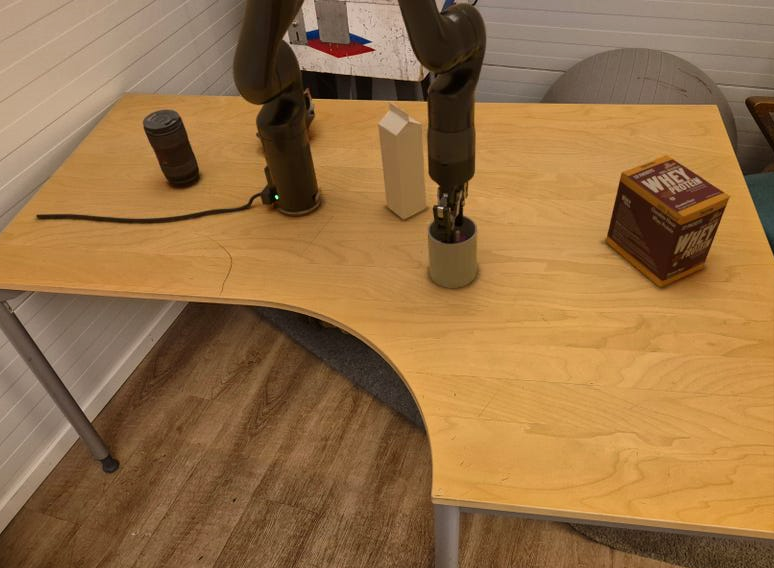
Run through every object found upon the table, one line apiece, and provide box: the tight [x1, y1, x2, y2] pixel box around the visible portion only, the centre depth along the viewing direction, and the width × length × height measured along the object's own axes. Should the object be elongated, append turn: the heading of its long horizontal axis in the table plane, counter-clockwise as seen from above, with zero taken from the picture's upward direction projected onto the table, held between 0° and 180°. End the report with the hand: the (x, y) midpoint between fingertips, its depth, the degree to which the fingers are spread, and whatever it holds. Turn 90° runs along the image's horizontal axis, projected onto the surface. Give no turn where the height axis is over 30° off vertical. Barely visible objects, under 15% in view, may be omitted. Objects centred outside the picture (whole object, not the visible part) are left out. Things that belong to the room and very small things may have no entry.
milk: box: [377, 102, 427, 221], centre depth 124 cm, size 6×6×22 cm
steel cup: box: [427, 214, 478, 289], centre depth 114 cm, size 9×9×10 cm
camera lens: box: [142, 109, 200, 189], centre depth 138 cm, size 8×8×15 cm
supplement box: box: [605, 155, 731, 288], centre depth 112 cm, size 10×15×16 cm
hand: (452, 234), depth 111 cm, fingers open, 5 cm apart
